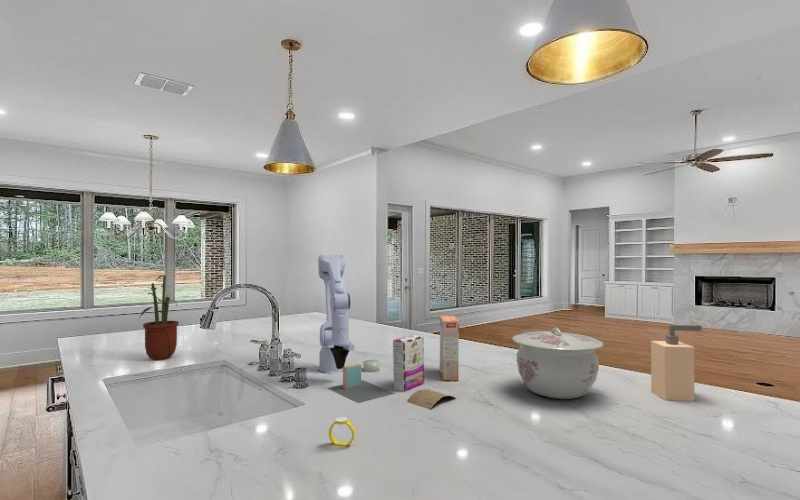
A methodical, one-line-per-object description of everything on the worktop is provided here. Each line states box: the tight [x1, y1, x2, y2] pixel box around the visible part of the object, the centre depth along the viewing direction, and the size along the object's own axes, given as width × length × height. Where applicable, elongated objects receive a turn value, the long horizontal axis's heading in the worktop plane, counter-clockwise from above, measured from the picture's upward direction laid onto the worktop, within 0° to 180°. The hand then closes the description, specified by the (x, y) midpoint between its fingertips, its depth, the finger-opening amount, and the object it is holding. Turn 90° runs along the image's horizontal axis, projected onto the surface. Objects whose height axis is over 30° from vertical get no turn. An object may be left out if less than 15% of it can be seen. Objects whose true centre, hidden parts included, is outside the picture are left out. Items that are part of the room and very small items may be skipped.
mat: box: [326, 379, 396, 404], centre depth 139 cm, size 18×14×1 cm
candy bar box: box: [392, 334, 425, 393], centre depth 144 cm, size 11×5×16 cm, turn 143°
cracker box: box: [439, 315, 460, 382], centre depth 158 cm, size 14×6×21 cm, turn 179°
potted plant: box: [138, 274, 180, 361], centre depth 183 cm, size 17×16×35 cm
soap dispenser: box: [650, 324, 703, 402], centre depth 135 cm, size 13×9×22 cm
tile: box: [342, 363, 362, 389], centre depth 143 cm, size 2×6×7 cm, turn 130°
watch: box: [328, 416, 356, 447], centre depth 101 cm, size 6×3×6 cm, turn 79°
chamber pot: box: [511, 327, 605, 400], centre depth 139 cm, size 28×28×21 cm
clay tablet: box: [406, 388, 456, 411], centre depth 131 cm, size 14×10×3 cm
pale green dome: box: [362, 359, 380, 373], centre depth 164 cm, size 6×6×4 cm
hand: (340, 368), depth 149 cm, fingers closed
